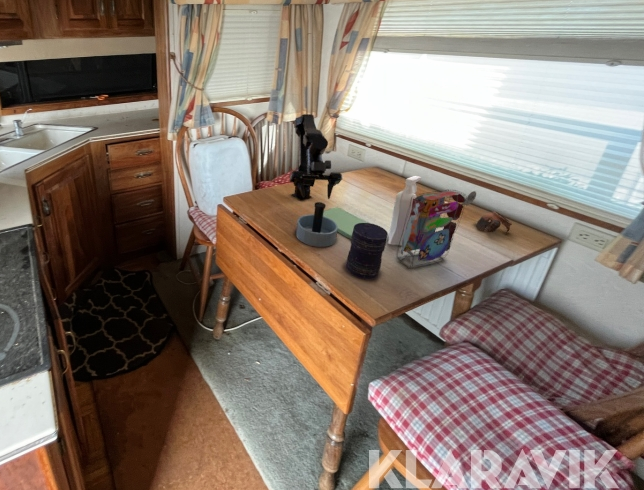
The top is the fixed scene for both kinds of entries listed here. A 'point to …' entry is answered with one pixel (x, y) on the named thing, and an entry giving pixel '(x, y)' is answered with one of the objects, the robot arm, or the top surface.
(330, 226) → the bowl
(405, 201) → the white pump bottle
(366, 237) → the storage jar
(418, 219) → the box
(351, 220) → the cutting board
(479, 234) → the top surface
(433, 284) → the top surface
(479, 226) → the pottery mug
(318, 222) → the black post stand
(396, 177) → the top surface
